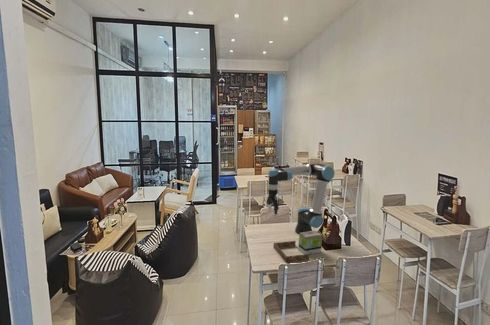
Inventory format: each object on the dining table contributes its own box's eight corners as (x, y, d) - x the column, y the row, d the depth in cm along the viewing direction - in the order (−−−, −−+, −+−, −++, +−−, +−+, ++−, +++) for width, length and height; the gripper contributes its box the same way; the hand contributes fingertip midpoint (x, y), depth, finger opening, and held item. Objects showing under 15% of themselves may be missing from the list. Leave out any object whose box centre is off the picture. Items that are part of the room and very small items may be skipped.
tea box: (305, 255, 218) (306, 237, 216) (297, 250, 227) (298, 232, 225) (321, 252, 224) (322, 234, 222) (313, 247, 233) (314, 229, 231)
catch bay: (294, 245, 235) (294, 240, 235) (309, 259, 212) (309, 254, 211) (273, 247, 230) (273, 242, 230) (285, 262, 207) (285, 257, 206)
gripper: (263, 185, 239) (263, 209, 242) (274, 193, 215) (273, 220, 219) (272, 185, 241) (271, 209, 244) (283, 192, 217) (282, 219, 220)
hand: (272, 214), depth 231 cm, fingers open, 13 cm apart
